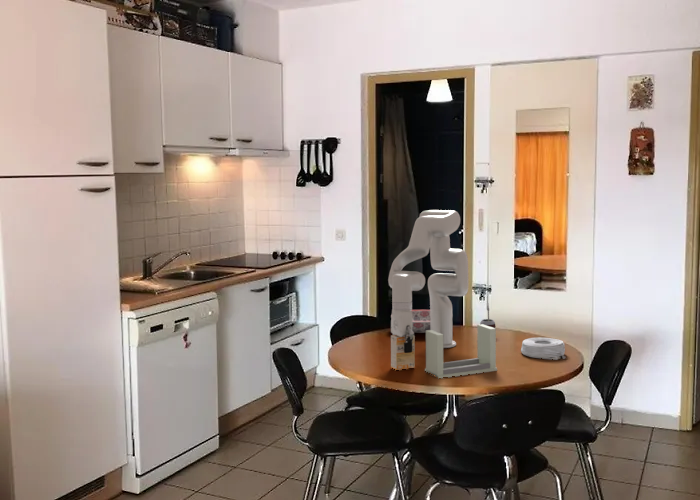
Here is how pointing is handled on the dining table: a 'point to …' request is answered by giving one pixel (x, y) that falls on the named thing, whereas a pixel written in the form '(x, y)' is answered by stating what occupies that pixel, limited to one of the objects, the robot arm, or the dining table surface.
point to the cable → (543, 348)
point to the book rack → (461, 367)
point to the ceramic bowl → (420, 321)
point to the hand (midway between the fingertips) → (402, 350)
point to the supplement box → (401, 354)
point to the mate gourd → (488, 320)
